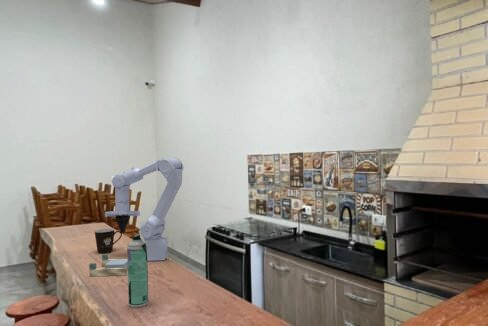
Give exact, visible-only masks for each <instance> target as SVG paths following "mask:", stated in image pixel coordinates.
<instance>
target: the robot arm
mask: <svg viewBox="0 0 488 326" xmlns="http://www.w3.org/2000/svg"><path fill="white" fill-rule="evenodd" d="M184 168H185V167H184V164H183V162H182V161H181V159H180V158H178V157H173V158H171V157H170V158H168V157H164V158H161V159H157V160H156V161H154V162H153V161H152V162H151V163H149V164H147V165H144V166H143V167H141V168H139V167H135V166H133V167H131V169H130V170H127V171H123V172H122V174H118V173H117V174H115V175H114V176H113V177H112V180H111V183H112V186H113V187H114V188H115V189H114V192H115V194H114V195H115V197H114V198H115V199H114V200H115V210H114V211H105V212H104V217H105V218H107V217H115V218H114V220H115V221H116V223H117V225H118V228H119V231H120V232H121V233H122V234H125V233H126V229H127V225H128V224H129V223H128V222H129V220H130V218H131V217H140V215H141V213H140V212H141V211H140V210H130V190H131V188H130V187H131V185H133V184H135V183H137V182H139V181H142V180H143V179H144V176H147V175H149V174H151V173H154V172H160V173H161V174H162V175H163V177H164V178H165V180H166V182H167V184H166V186H165V188H164V190H163V192H162V194H161V196H160V198H159V200H158V201H157V203H156V207H155V208H154V210H153V212H152V214H151V215H150V217H148V218H147V219H146V221H145V222H144V224H142V225H141V227H140V229H139V232H140V235H141V237H142V240H143V241H145V242H146V243H147V244H146V245H147V262H151V261H153V262H155V261H165V260H166V259H167V258H168V256H169V254H168V253H169V251H168V248H169V247H168V238H167V237H165V236H163V233H164V231H165V227H166V223H167V221H166V217H167V215H168V212H169V211H170V209H171V206H172V205H173V202H174V200H175V198H176V196H177V194H178V193H179V190H180V188H181V186H182V185H183V171H184Z"/></svg>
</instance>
